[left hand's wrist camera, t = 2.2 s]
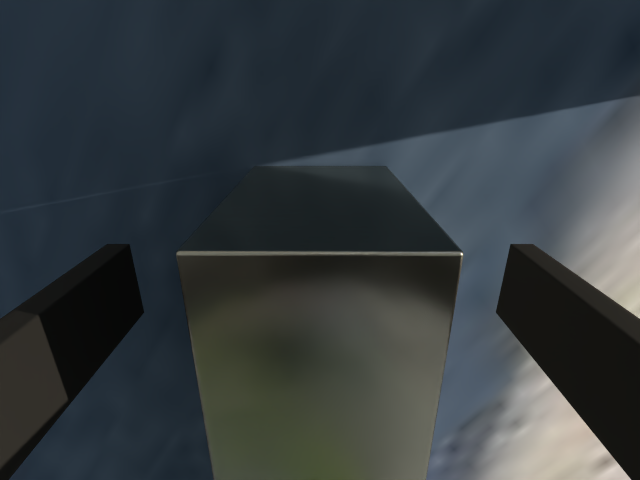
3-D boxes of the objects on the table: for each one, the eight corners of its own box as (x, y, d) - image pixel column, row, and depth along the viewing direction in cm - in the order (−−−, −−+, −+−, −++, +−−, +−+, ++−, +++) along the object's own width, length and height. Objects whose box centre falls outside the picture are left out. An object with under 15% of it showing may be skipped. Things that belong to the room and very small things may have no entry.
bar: (253, 165, 14) (173, 251, 6) (387, 165, 14) (465, 251, 6) (279, 533, 23) (258, 753, 15) (361, 533, 23) (381, 753, 15)
